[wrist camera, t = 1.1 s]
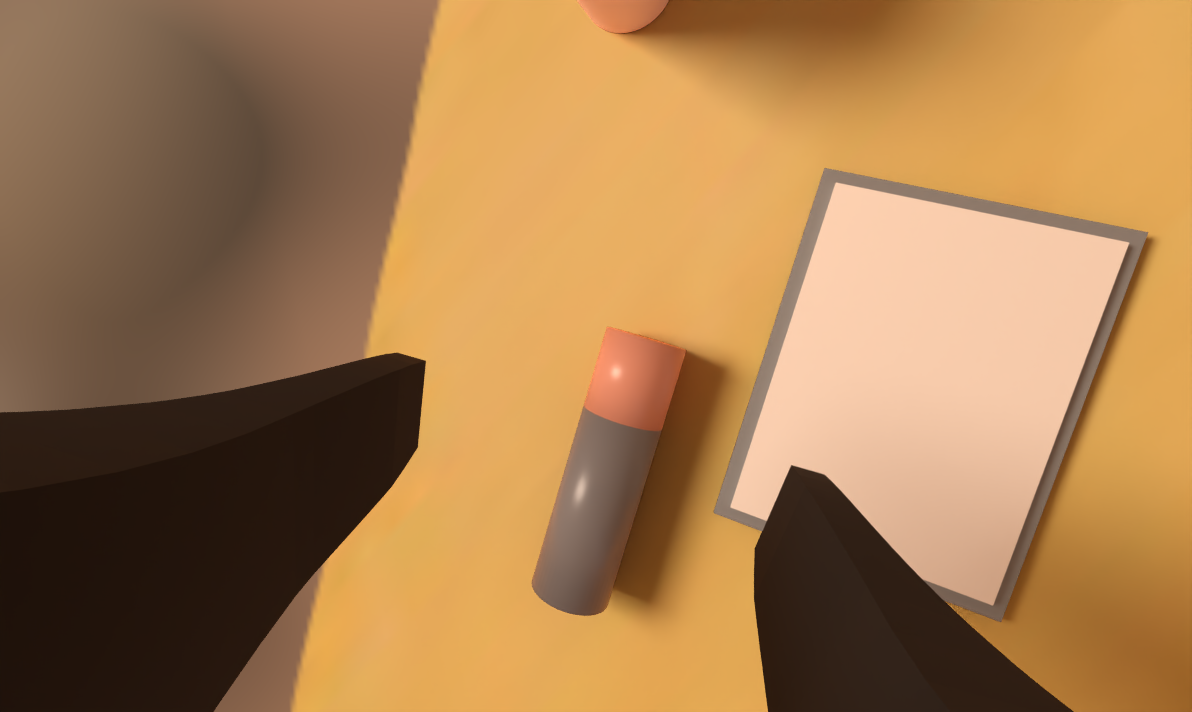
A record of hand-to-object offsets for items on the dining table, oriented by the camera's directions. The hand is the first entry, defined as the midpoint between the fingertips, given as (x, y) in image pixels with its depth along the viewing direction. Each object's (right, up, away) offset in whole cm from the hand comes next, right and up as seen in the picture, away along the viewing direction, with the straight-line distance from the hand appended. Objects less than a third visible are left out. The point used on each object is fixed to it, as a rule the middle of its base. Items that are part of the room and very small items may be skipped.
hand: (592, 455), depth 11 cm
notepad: (+11, +1, +8) cm, 14 cm away
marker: (+1, -2, +11) cm, 12 cm away
